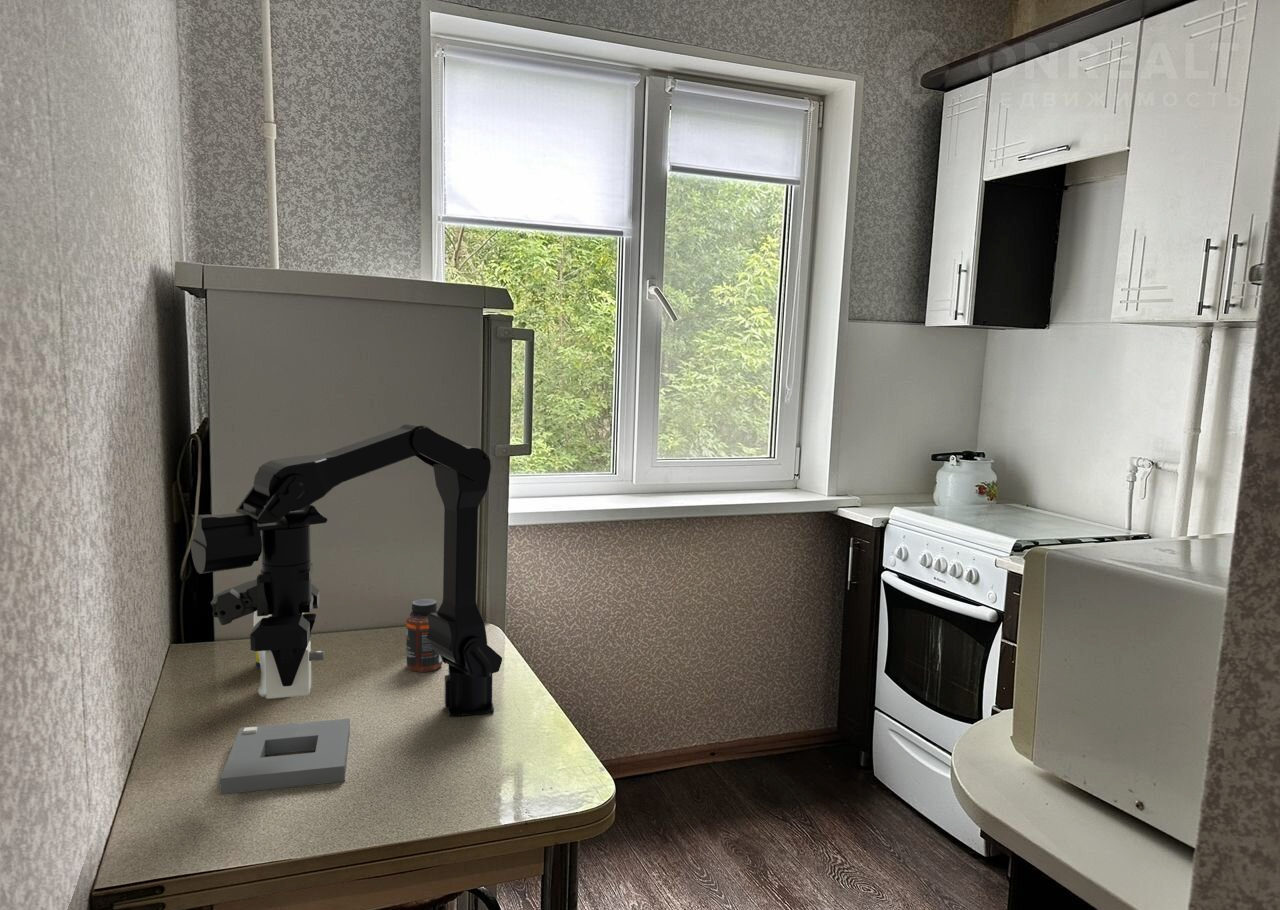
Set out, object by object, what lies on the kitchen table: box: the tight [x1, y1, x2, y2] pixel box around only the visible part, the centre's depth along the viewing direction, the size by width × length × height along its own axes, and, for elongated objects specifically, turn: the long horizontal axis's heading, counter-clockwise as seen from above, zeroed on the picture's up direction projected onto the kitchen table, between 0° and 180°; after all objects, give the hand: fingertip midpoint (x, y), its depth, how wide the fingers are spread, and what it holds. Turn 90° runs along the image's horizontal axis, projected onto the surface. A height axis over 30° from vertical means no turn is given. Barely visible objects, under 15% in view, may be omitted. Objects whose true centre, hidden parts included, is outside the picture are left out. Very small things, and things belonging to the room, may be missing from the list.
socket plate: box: [219, 718, 351, 795], centre depth 110 cm, size 14×14×2 cm
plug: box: [265, 639, 325, 700], centre depth 109 cm, size 7×4×6 cm, turn 106°
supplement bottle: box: [405, 598, 443, 673], centre depth 143 cm, size 6×6×11 cm
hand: (289, 679), depth 109 cm, fingers closed on plug, 3 cm apart
